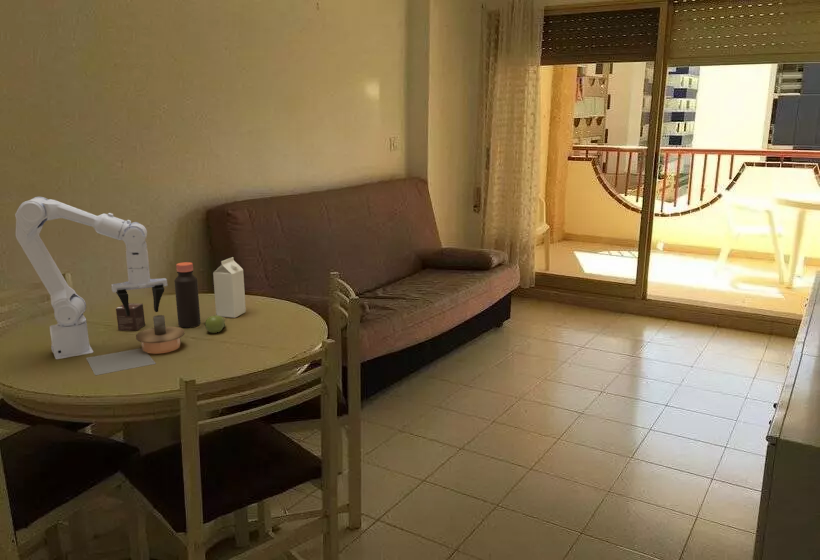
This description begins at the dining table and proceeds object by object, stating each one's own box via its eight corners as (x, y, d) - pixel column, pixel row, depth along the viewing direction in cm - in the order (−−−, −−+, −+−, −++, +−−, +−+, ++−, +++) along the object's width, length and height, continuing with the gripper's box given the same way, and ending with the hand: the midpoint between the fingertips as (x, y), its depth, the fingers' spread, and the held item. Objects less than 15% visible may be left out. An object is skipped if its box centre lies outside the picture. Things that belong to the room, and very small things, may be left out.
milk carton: (216, 316, 222) (212, 260, 217) (227, 310, 229) (223, 256, 224) (234, 318, 220) (231, 262, 215) (246, 312, 227) (242, 257, 222)
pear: (202, 317, 202) (210, 313, 212) (203, 334, 203) (210, 329, 213) (221, 316, 203) (227, 312, 213) (222, 333, 203) (228, 329, 213)
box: (145, 325, 213) (143, 303, 211) (136, 331, 207) (134, 308, 205) (127, 324, 213) (125, 302, 211) (117, 330, 207) (115, 308, 206)
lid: (140, 346, 182) (138, 326, 180) (132, 333, 192) (130, 314, 191) (189, 337, 188) (187, 318, 187) (178, 325, 199) (176, 307, 198)
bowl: (147, 357, 185) (146, 343, 184) (139, 346, 193) (138, 333, 192) (184, 350, 190) (183, 336, 189) (174, 340, 198) (173, 327, 197)
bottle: (178, 322, 215) (173, 262, 210) (200, 320, 217) (195, 260, 212) (178, 329, 209) (172, 266, 204) (200, 327, 211) (195, 265, 206)
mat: (95, 376, 171) (95, 375, 171) (86, 359, 183) (85, 357, 183) (156, 364, 179) (155, 363, 179) (143, 349, 191) (143, 347, 191)
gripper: (112, 272, 180) (117, 320, 183) (168, 266, 188) (171, 312, 191) (108, 267, 186) (112, 314, 189) (162, 261, 193) (165, 306, 197)
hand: (142, 313), depth 190 cm, fingers open, 7 cm apart
